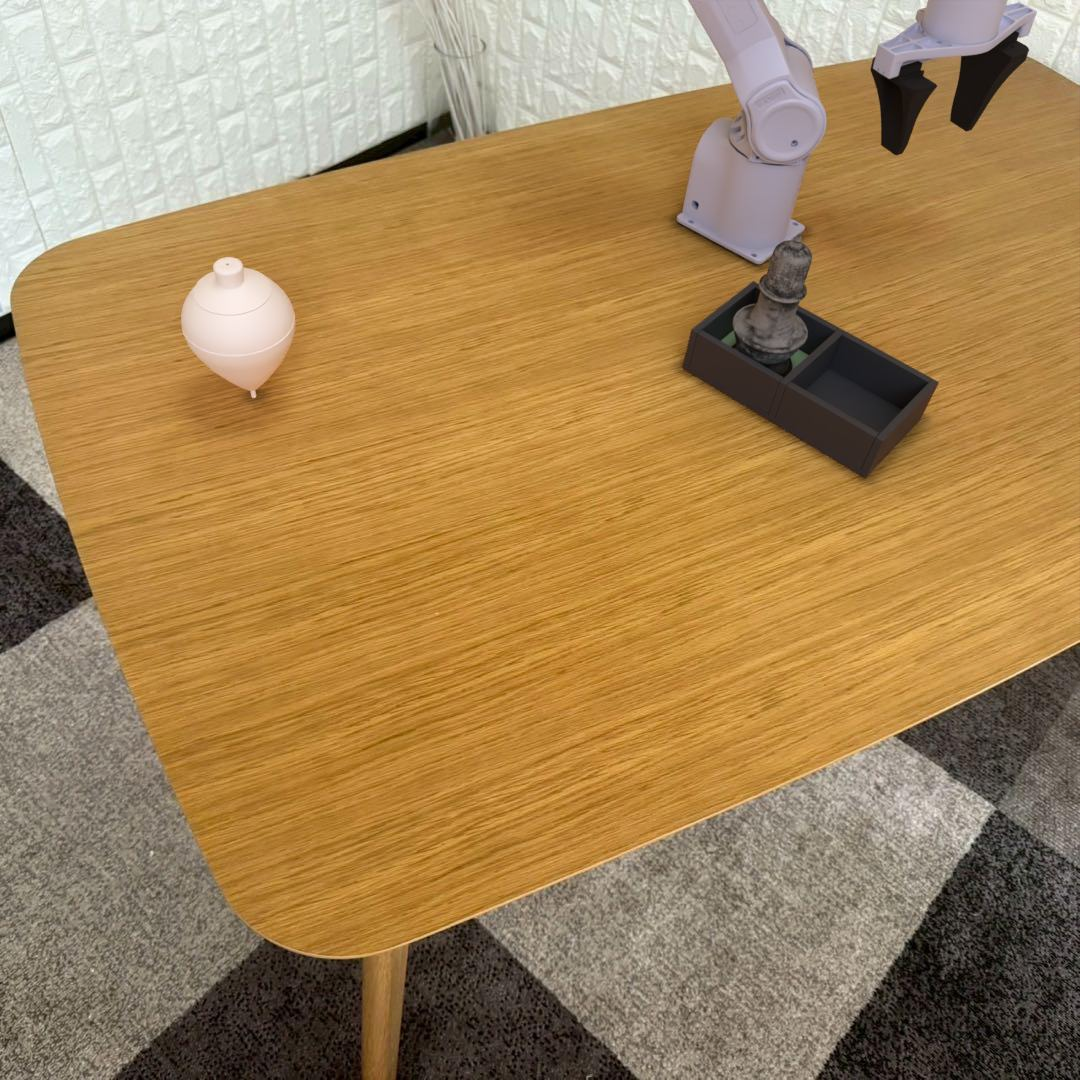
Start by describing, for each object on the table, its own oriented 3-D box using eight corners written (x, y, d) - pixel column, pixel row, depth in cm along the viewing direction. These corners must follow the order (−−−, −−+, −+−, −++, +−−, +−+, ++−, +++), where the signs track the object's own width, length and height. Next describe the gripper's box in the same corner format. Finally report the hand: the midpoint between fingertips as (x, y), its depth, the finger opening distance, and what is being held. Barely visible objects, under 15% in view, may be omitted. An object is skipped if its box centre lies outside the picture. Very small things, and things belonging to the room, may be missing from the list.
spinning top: (296, 356, 80) (276, 223, 70) (314, 423, 75) (296, 291, 66) (195, 372, 78) (161, 237, 68) (208, 442, 73) (173, 308, 64)
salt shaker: (775, 397, 79) (818, 270, 70) (710, 364, 81) (743, 236, 72) (808, 358, 83) (853, 231, 73) (744, 328, 84) (781, 200, 75)
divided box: (681, 368, 82) (690, 329, 79) (742, 319, 86) (753, 280, 83) (865, 478, 76) (883, 441, 72) (920, 419, 80) (939, 382, 77)
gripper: (1011, -71, 81) (959, 95, 91) (865, -32, 76) (829, 137, 87) (1079, -39, 77) (1016, 131, 87) (929, 5, 72) (883, 177, 83)
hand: (926, 137), depth 87 cm, fingers open, 7 cm apart
